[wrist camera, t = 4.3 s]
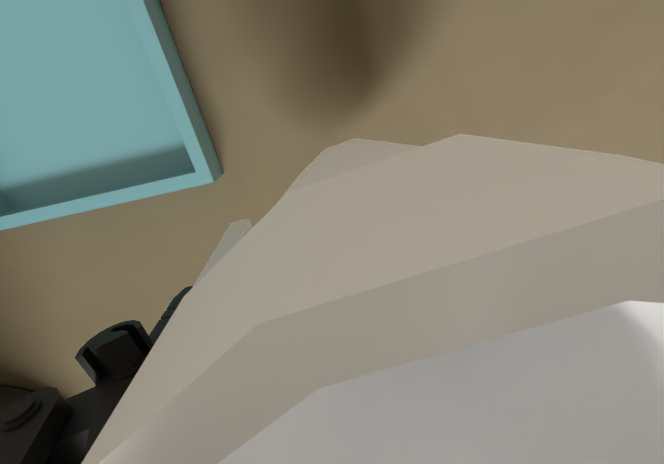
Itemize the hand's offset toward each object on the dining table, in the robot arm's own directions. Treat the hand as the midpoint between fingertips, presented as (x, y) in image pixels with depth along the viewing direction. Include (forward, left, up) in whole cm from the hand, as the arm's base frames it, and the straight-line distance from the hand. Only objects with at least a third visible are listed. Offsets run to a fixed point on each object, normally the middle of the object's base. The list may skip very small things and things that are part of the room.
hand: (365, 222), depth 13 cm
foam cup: (0, 0, -2) cm, 2 cm away
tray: (-15, +9, -8) cm, 20 cm away
